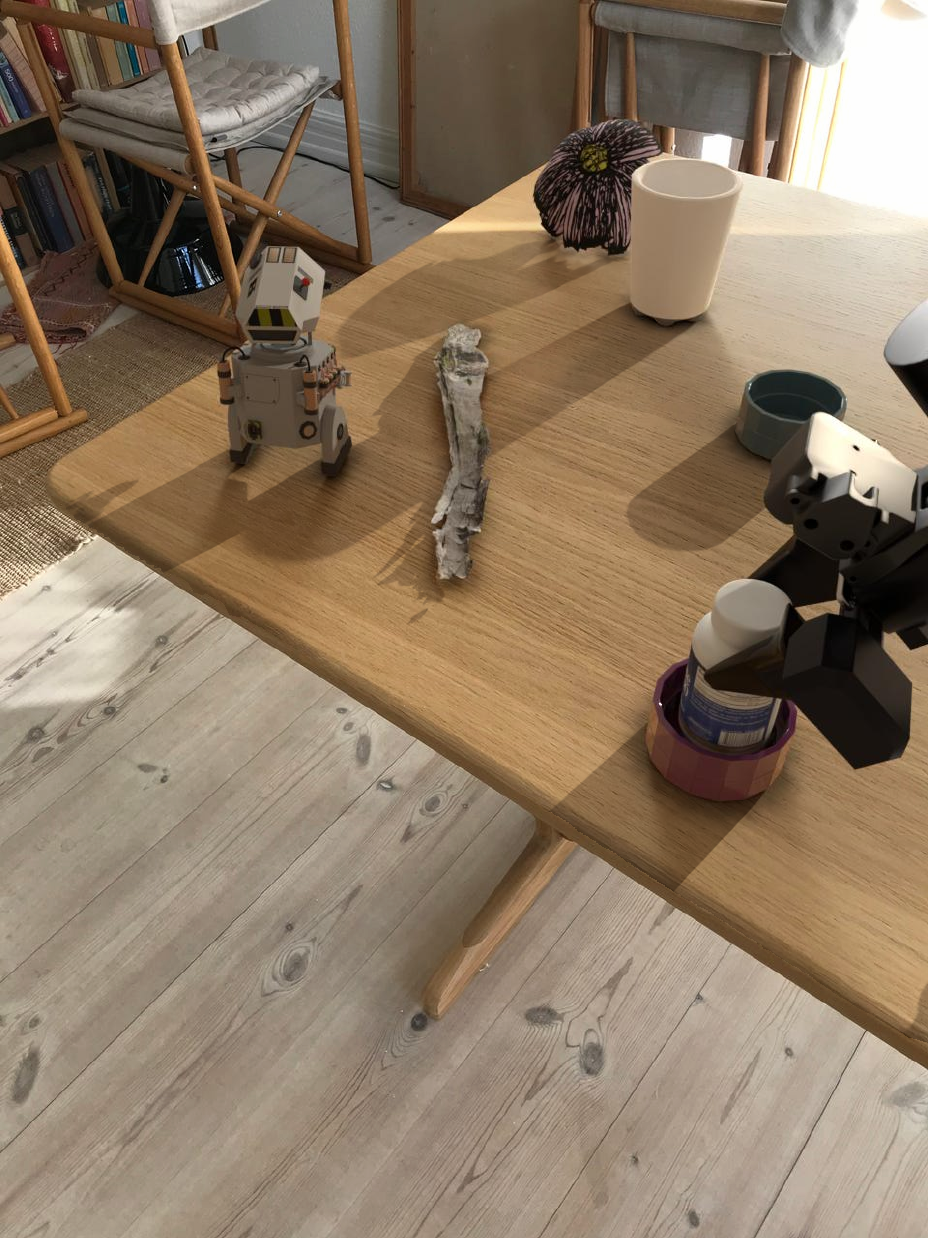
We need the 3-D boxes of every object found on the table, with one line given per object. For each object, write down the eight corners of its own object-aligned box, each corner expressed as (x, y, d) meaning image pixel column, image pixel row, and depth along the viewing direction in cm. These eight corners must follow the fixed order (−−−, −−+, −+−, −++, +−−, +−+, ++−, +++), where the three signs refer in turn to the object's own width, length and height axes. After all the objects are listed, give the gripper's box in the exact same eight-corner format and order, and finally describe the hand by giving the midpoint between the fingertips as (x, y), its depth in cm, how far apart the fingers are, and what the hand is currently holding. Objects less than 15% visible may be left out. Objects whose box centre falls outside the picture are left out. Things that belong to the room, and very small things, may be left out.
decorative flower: (502, 146, 104) (599, 70, 108) (500, 228, 115) (589, 157, 119) (607, 222, 100) (704, 140, 104) (595, 300, 111) (683, 224, 115)
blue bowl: (837, 419, 85) (849, 378, 82) (831, 473, 80) (844, 430, 77) (741, 404, 87) (750, 362, 84) (729, 455, 81) (738, 413, 79)
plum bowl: (787, 715, 62) (802, 671, 59) (774, 819, 57) (790, 776, 54) (658, 685, 64) (667, 641, 61) (633, 783, 58) (642, 740, 56)
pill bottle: (704, 677, 61) (730, 555, 54) (786, 717, 59) (824, 596, 52) (659, 732, 58) (681, 611, 51) (744, 777, 56) (778, 656, 49)
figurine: (373, 412, 86) (359, 242, 76) (330, 492, 78) (308, 314, 68) (273, 400, 88) (246, 231, 77) (221, 476, 80) (183, 300, 69)
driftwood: (491, 328, 97) (440, 333, 97) (489, 303, 95) (437, 308, 96) (493, 582, 70) (422, 586, 71) (489, 554, 69) (417, 559, 69)
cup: (722, 292, 102) (746, 162, 93) (715, 339, 95) (740, 204, 86) (624, 281, 103) (638, 153, 94) (610, 327, 97) (624, 193, 88)
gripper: (916, 289, 48) (659, 443, 58) (901, 526, 35) (577, 668, 46) (1034, 456, 51) (771, 573, 62) (1058, 725, 39) (723, 814, 49)
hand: (717, 644), depth 54 cm, fingers closed on pill bottle, 5 cm apart
